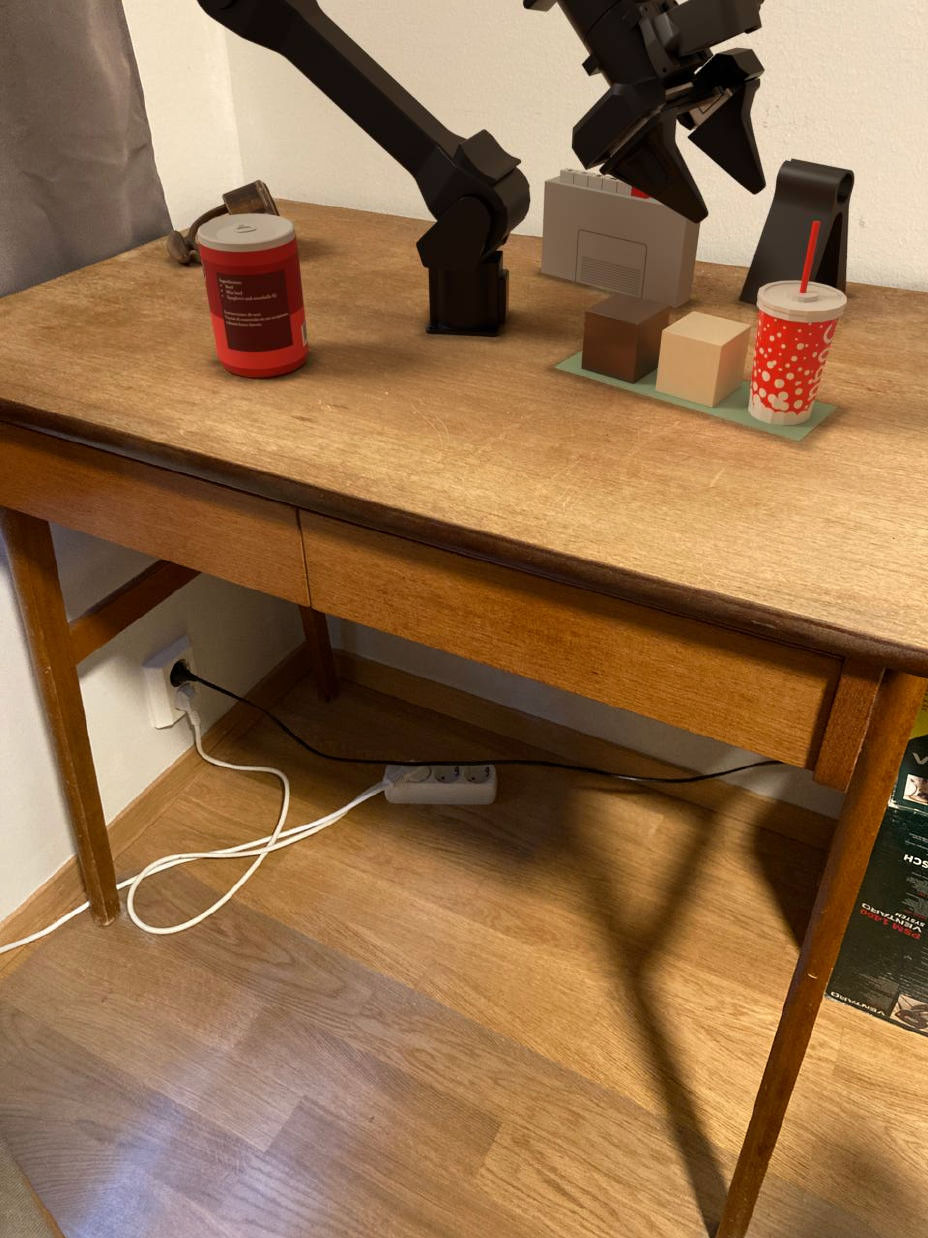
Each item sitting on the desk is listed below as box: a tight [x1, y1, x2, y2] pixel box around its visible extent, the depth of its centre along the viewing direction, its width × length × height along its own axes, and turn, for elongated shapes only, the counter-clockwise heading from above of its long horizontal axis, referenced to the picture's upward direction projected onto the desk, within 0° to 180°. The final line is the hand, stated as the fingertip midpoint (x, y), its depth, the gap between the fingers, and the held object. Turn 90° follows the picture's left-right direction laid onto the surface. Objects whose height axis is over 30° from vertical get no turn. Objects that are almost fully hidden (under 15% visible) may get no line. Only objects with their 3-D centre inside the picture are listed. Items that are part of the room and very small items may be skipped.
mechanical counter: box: [166, 179, 281, 264], centre depth 105 cm, size 7×13×10 cm
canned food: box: [197, 214, 309, 379], centre depth 82 cm, size 8×8×11 cm
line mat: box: [553, 350, 838, 443], centre depth 80 cm, size 22×7×1 cm, turn 52°
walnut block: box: [581, 292, 672, 384], centre depth 81 cm, size 5×5×5 cm
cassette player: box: [540, 167, 702, 309], centre depth 95 cm, size 16×3×10 cm, turn 50°
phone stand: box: [738, 157, 856, 307], centre depth 92 cm, size 9×6×12 cm, turn 133°
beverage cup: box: [748, 221, 848, 425], centre depth 72 cm, size 6×6×14 cm
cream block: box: [655, 310, 752, 408], centre depth 78 cm, size 5×5×5 cm
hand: (733, 204), depth 73 cm, fingers open, 9 cm apart
